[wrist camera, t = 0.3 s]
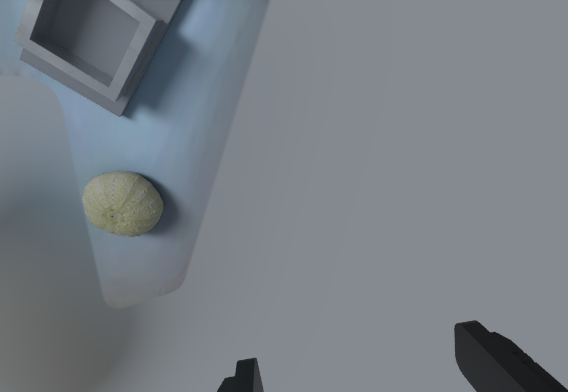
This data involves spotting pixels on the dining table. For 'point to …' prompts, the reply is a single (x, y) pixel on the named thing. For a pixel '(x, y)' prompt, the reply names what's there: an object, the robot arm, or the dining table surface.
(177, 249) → the dining table surface
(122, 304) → the dining table surface
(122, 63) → the collar
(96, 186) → the sea urchin shell
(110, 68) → the slate board
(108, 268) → the dining table surface
